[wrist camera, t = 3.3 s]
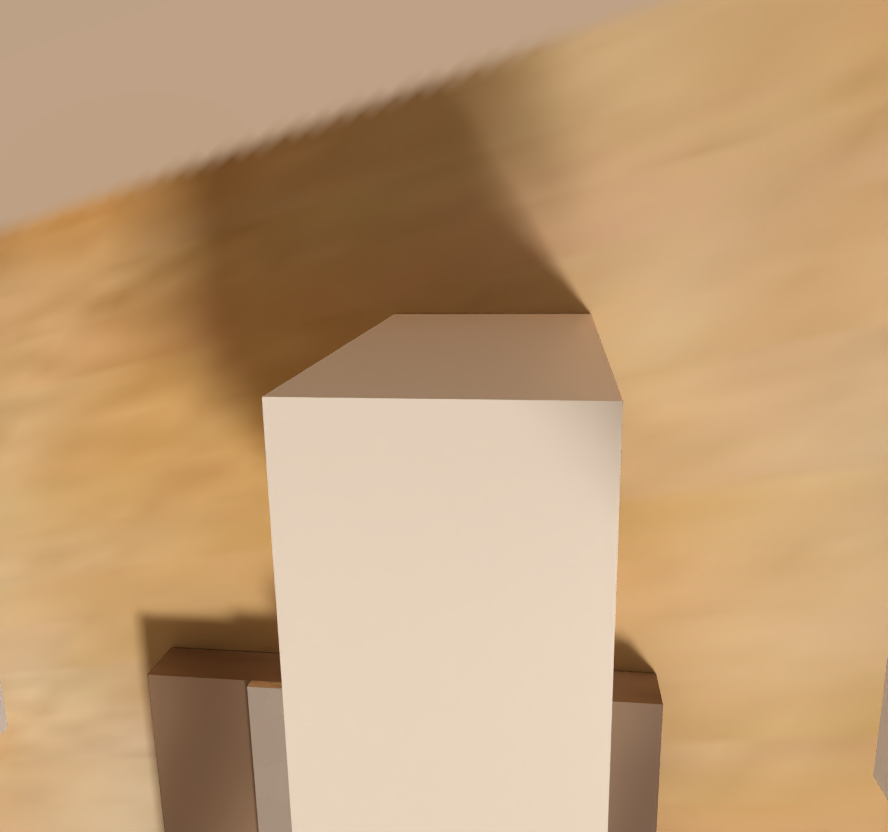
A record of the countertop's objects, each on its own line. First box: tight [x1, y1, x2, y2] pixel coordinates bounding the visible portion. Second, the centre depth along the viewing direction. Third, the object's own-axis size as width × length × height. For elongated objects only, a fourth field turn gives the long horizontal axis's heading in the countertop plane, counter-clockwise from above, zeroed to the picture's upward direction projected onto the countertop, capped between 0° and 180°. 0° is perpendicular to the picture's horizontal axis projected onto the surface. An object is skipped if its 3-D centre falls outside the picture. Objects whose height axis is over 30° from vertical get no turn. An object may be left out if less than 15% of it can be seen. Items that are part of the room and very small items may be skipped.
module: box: [262, 314, 623, 832], centre depth 17 cm, size 8×5×10 cm, turn 1°
